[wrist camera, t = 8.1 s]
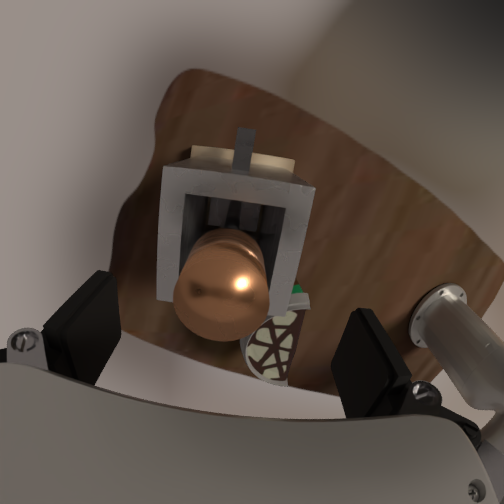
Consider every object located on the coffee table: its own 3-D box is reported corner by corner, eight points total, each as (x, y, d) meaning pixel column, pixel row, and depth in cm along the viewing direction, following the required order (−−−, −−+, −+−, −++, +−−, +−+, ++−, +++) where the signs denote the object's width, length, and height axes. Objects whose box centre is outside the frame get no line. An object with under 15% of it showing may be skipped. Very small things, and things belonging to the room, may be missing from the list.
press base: (291, 159, 31) (295, 160, 29) (274, 249, 35) (276, 255, 33) (195, 145, 30) (192, 145, 28) (185, 236, 34) (181, 242, 32)
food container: (246, 256, 35) (246, 298, 26) (295, 261, 35) (311, 303, 26) (236, 335, 39) (234, 386, 30) (278, 338, 40) (286, 389, 31)
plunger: (263, 182, 29) (296, 254, 11) (255, 229, 31) (271, 356, 13) (214, 175, 29) (160, 235, 10) (208, 222, 31) (160, 341, 12)
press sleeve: (288, 141, 28) (324, 140, 15) (269, 246, 32) (285, 316, 19) (203, 129, 27) (169, 117, 14) (191, 235, 32) (156, 299, 19)
